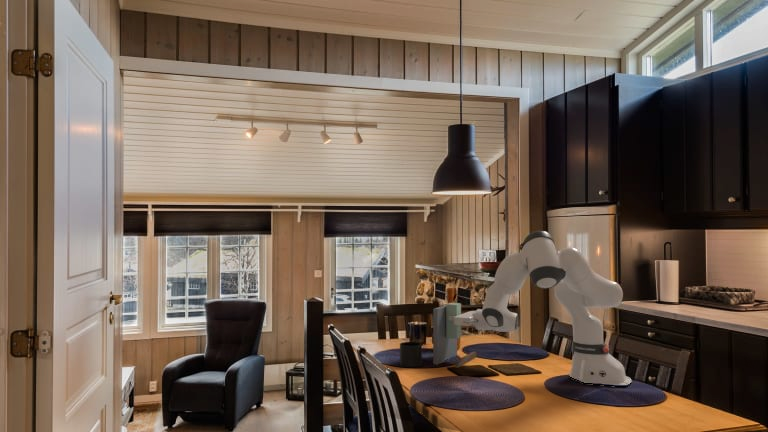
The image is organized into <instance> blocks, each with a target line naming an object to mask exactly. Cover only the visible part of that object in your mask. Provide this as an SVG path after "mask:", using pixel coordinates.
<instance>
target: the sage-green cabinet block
mask: <svg viewBox="0 0 768 432" xmlns="http://www.w3.org/2000/svg"><path fill="white" fill-rule="evenodd" d="M447 303H448V302H447ZM447 303H446V337H447V338H453V339H458V338H460V339H461V338H462V326H459V325H454V321H451V320H449V319H448V317H449V316H458V315H461V314H462V303H461V302H460V303H459V302H453V303H448V304H447Z"/></svg>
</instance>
